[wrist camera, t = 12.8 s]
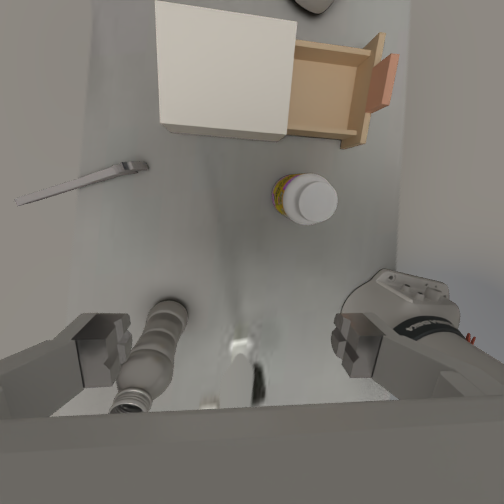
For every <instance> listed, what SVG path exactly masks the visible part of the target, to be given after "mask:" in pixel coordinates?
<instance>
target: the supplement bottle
mask: <svg viewBox="0 0 504 504" xmlns="http://www.w3.org/2000/svg"><path fill="white" fill-rule="evenodd" d="M272 202H273V205H274V207H275V208H276V209H277V211H279V212H280V213H281V214H283V215H284V216H286V217H287V218H289V219H291V220H292V221H294V222H296V223H298V224H301V225H313V224H316V223H318V222H322V221H325V220H327V219H328V218H330V217H331V216H332V215H333V213H334V212H335V210H336V208H337V204H338V196H337V193H336V191H335V189H334V188H333V187H332V186H331V185H330V183H329V182H328V181H327V180H326V179H325V178H324V177H322V176H320V175H318V174H313V173H306V174H293V175H287V176H284V177H282V178H281V179H279V180H278V181H277V183H276V184H275V186H274V188H273V191H272Z"/></svg>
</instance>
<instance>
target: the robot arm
mask: <svg viewBox="0 0 504 504" xmlns="http://www.w3.org/2000/svg"><path fill="white" fill-rule="evenodd" d="M390 276H391V277H390ZM389 277H390V278H389ZM459 322H460V311H459V308H458V306H457V305H456V304H455V303H453V302H452V301H450V300H449V290H448V287H447V285H446V284H444V283H442V282H439V281H435V280H430V279H426V278H422V277H417V276H413V275H409V274H404V273H401V272H396V271H392V270H388V269H382V270H380V271H379V272H378V273H377V274H376V275H375V276H374V277H373V278H372V280H370V281H369V282H367V283H366V284H364V285H362V286H361V287H359V288H358V289H356V290H355V291H354V292H353V293H352V294H351V295H350V296H349V297H348V299H347V300H346V302H345V304H344V306H343V309H342V312H341V313H340V314H336V316H335V319H334V324H335V326H336V328H335V329H334V330H333V331H332V336H331V344H332V348H333V351H334V353H335V354H336V356H337V357H339V358H341V359H342V366H343V367H344V369H345V370H346V372H347V373H348V375H349V376H350V378H372V379H373V380H374V381H376V382H377V383H378V384H380V385H381V386H382V387H383V388H385V389H386V390H387V391H389V392H390V393H391V394H393V395H394V396H395V397H397V398H398V399H399V400H385V401H365V402H344V403H324V404H303V405H283V406H264V407H244V408H224V409H202V410H182V411H161V412H141V413H120V414H100V415H79V416H59V417H49V416H51V415H52V414H53V413H54V412H56V411H57V410H58V409H60V408H61V407H62V406H63V405H65V404H66V403H67V402H69V401H70V400H71V399H72V398H74V397H75V396H76V395H77V394H79V393H80V392H81V391H83V390H84V388H95V387H111V386H112V385H113V384H114V382H115V380H116V378H117V377H118V375H119V373H120V371H121V367H120V365H121V364H122V363H124V362H125V361H127V359H128V357H129V355H130V351H131V348H132V334H131V333H130V332H129V331H128V330H127V329H128V327H129V326H130V324H131V322H130V316H129V315H128V314H127V313H83V314H81V315H79V316H78V317H77V318H76V319H75V320H74V321H73V322H72V323H71V324H69V325H68V326H67V327H66V328H65V329H64V330H63V331H62V332H61V333H59V334H58V335H57V336H56V337H55V338H54V339H53V340H49V341H44V342H42V343H39V344H37V345H35V346H33V347H30V348H28V349H25V350H23V351H21V352H18V353H16V354H14V355H11V356H9V357H6V358H4V359H2V360H0V504H504V364H503V363H501V362H500V361H498V360H496V359H495V358H493V357H491V356H490V355H488V354H486V353H485V352H483V351H482V350H480V349H479V348H477V347H476V346H474V345H473V344H474V341H475V338H476V337H473V339H472V341H471V342H470V333H468V334H467V336H466V339H465V337H464V336H463V335H462V334H461V332H460V331H459V330H458V326H459Z"/></svg>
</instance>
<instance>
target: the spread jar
mask: <svg viewBox="0 0 504 504" xmlns="http://www.w3.org/2000/svg"><path fill="white" fill-rule="evenodd" d="M294 1H295V2H296V3H297V4H298V5H299V6H301V7H302V8H303V9H305V10H307V11H309V12H311V13H316V14H318V13H322V12H324V11H325V10H326V9H327V8H328V7H329V6H330V5H331V3H332V2H333V1H334V0H294Z"/></svg>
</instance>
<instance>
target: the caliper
mask: <svg viewBox="0 0 504 504" xmlns="http://www.w3.org/2000/svg"><path fill="white" fill-rule="evenodd" d="M112 166H113V167H110V168H107V169H104V170H101V171H98V172H95V173H92V174H89V175H86V176H84V177H81V178H78V179H75V180H72V181H69V182H66V183H62V184H59V185H56V186H53V187H50V188H47V189H43V190H41V191H37V192H34V193H31V194H28V195H24V196H21V197H18V198H17V199H15V202H16V204H17V205H18V206H20V205H24V204H28V203H32V202H35V201H38V200H42V199H45V198H48V197H51V196H54V195H58V194H61V193H64V192H67V191H71V190H74V189H77V188H80V187H83V186H87V185H90V184H93V183H96V182H102V181H105V180H108V179H112V178H115V177H117V176H120V175H127V174H135V173H138V171H141V170H148V167H147V164H146V163H145V162H141V161H130V162H121V163H120V164H117V165H112Z"/></svg>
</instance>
